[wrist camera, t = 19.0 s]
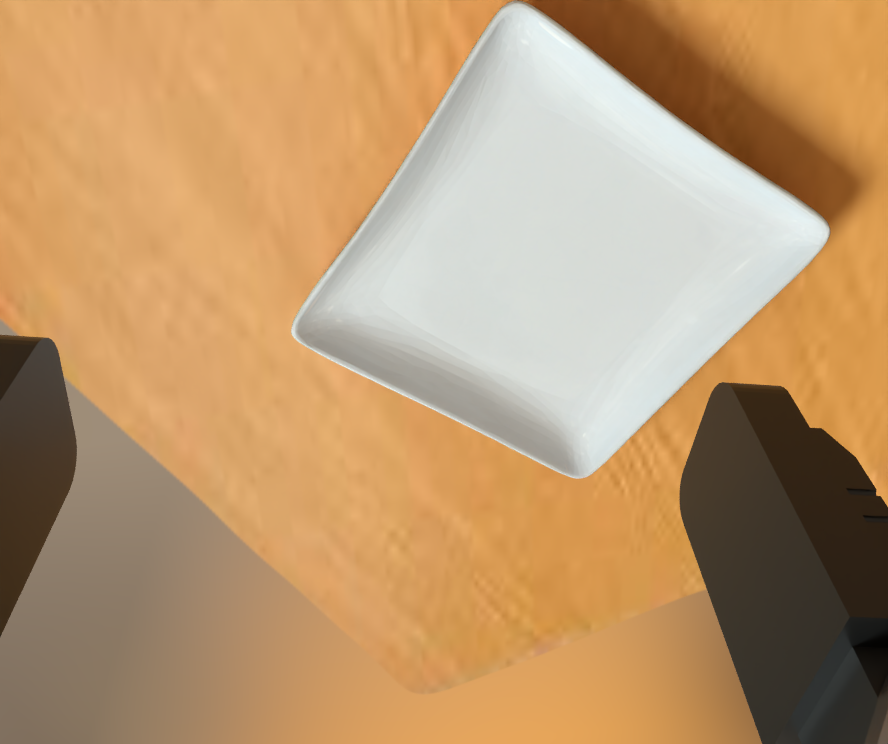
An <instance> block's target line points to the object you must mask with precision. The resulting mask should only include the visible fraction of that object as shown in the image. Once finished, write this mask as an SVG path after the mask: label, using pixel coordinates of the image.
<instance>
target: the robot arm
mask: <svg viewBox="0 0 888 744" xmlns="http://www.w3.org/2000/svg"><path fill="white" fill-rule="evenodd" d="M76 456H77V445H76V437H75V431H74V426H73V422H72V416H71V412H70V406H69V402H68V397H67V392H66V387H65V382H64V377H63V372H62V367H61V362H60V357H59V353H58V350H57V347H56V345H55V343H54V342H53V341H52V340H51V339H49V338H41V337H25V336H9V335H0V636H1V634H2V632H3V630H4V628H5V626H6V623H7V621H8V619H9V617H10V615H11V613H12V611H13V608H14V606H15V604H16V602H17V600H18V598H19V596H20V594H21V592H22V590H23V588H24V585H25V583H26V581H27V579H28V577H29V575H30V573H31V571H32V568H33V566H34V564H35V562H36V560H37V558H38V556H39V553H40V551H41V549H42V547H43V545H44V543H45V541H46V538H47V536H48V534H49V532H50V530H51V528H52V526H53V524H54V522H55V520H56V517H57V515H58V513H59V511H60V509H61V507H62V505H63V503H64V501H65V498H66V496H67V494H68V492H69V490H70V487H71V484H72V481H73V477H74V472H75V467H76ZM680 510H681V516H682V520H683V523H684V526H685V529H686V532H687V535H688V537H689V540H690V543H691V546H692V549H693V551H694V554H695V557H696V560H697V563H698V565H699V568H700V571H701V574H702V577H703V579H704V582H705V585H706V588H707V591H708V593H709V596H710V599H711V602H712V604H713V607H714V610H715V613H716V615H717V618H718V621H719V624H720V627H721V630H722V632H723V635H724V638H725V641H726V643H727V646H728V649H729V652H730V654H731V657H732V660H733V663H734V666H735V668H736V671H737V674H738V677H739V680H740V682H741V685H742V688H743V691H744V694H745V696H746V699H747V702H748V705H749V708H750V711H751V713H752V716H753V719H754V722H755V725H756V727H757V730H758V733H759V736H760V738H761V741H762V744H888V507H887V505H886V504H885V502H884V501H883V499H882V498H881V496H876V488H875V487H874V485H873V484H872V482H871V480H870V479H869V477H868V476H867V474H866V473H865V471H864V469H863V468H862V466H861V465H860V463H859V462H858V460H857V459H856V457H855V456H854V455H852V454H851V453H850V452H849V451H848V450H846V449H845V448H844V447H843V446H842V445H841V444H839V443H838V442H837V441H836V440H835V439H834V438H832V437H831V436H830V435H829V434H828V433H827V432H825V431H824V430H823V429H822V428H810V427H809V425H808V424H807V422H806V420H805V419H804V417H803V415H802V414H801V412H800V410H799V409H798V407H797V405H796V404H795V402H794V400H793V399H792V397H791V395H790V394H789V392H788V391H787V390H786V389H785V388H784V387H781V386H771V385H756V384H740V383H724V382H722V383H719V384H718V385H717V386H716V387H715V388H714V390H713V391H712V393H711V395H710V398H709V401H708V403H707V406H706V409H705V412H704V415H703V417H702V420H701V423H700V426H699V429H698V431H697V434H696V437H695V440H694V443H693V445H692V448H691V451H690V454H689V457H688V459H687V462H686V465H685V468H684V471H683V474H682V478H681V484H680Z"/></svg>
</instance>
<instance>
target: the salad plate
mask: <svg viewBox="0 0 888 744" xmlns="http://www.w3.org/2000/svg"><path fill="white" fill-rule="evenodd" d="M829 236H830V227H829V224H828V223H827V221H826V220H825V219H824V218H823V217H822V216H821V215H820V214H819V213H818V212H816V211H815V210H814V209H812V208H811V207H810V206H808V205H807V204H805V203H804V202H803V201H801V200H800V199H798V198H797V197H796V196H794V195H793V194H791V193H789V192H788V191H786V190H785V189H783V188H782V187H780V186H778V185H777V184H775V183H774V182H772V181H771V180H769V179H767V178H766V177H764V176H763V175H761V174H760V173H758V172H757V171H755V170H754V169H752V168H750V167H749V166H747V165H746V164H744V163H743V162H741V161H740V160H738V159H737V158H735V157H733V156H732V155H731V154H729V153H728V152H726V151H725V150H723V149H722V148H720V147H719V146H717V145H716V144H715V143H713V142H712V141H710V140H709V139H707V138H706V137H705V136H703V135H702V134H700V133H699V132H698V131H696V130H695V129H693V128H692V127H691V126H689V125H688V124H686V123H685V122H684V121H682V120H681V119H679V118H678V117H677V116H675V115H674V114H673V113H671V112H670V111H669V110H667V109H666V108H665V107H663V106H662V105H661V104H660V103H658V102H657V101H656V100H655V99H653V98H652V97H651V96H649V95H648V94H647V93H646V92H644V91H643V90H642V89H640V88H639V87H638V86H637V85H635V84H634V83H633V82H631V81H630V80H629V79H628V78H626V77H625V76H624V75H623V74H621V73H620V72H619V71H618V70H616V69H615V68H614V67H613V66H611V65H610V64H609V63H608V62H606V61H605V60H604V59H603V58H601V57H600V56H599V55H598V54H596V53H595V52H594V51H593V50H592V49H590V48H589V47H588V46H587V45H585V44H584V43H583V42H581V41H580V40H579V39H577V38H576V37H575V36H574V35H573V34H571V33H570V32H569V31H568V30H566V29H565V28H564V27H562V26H561V25H560V24H558V23H557V22H556V21H554V20H553V19H552V18H550V17H549V16H547V15H546V14H545V13H543V12H541V11H540V10H538V9H537V8H535V7H534V6H532V5H530V4H528V3H526V2H523V1H517V0H515V1H512V2H509V3H507V4H506V5H504V6H503V7H502V8H501V9H500V10H499V11H498V12H497V14H496V15H495V16H494V17H493V19H492V20H491V22H490V23H489V25H488V26H487V28H486V29H485V31H484V32H483V34H482V35H481V37H480V38H479V40H478V41H477V43H476V44H475V46H474V47H473V49H472V51H471V52H470V54H469V56H468V57H467V59H466V61H465V62H464V64H463V66H462V67H461V69H460V70H459V72H458V74H457V76H456V77H455V79H454V81H453V82H452V84H451V86H450V87H449V89H448V90H447V92H446V94H445V95H444V97H443V99H442V100H441V102H440V104H439V106H438V107H437V109H436V111H435V112H434V114H433V116H432V117H431V119H430V120H429V122H428V124H427V125H426V127H425V129H424V130H423V132H422V133H421V135H420V137H419V138H418V140H417V142H416V143H415V145H414V146H413V148H412V149H411V151H410V152H409V154H408V155H407V157H406V159H405V160H404V162H403V163H402V165H401V167H400V168H399V170H398V171H397V173H396V174H395V176H394V177H393V179H392V180H391V182H390V183H389V185H388V186H387V188H386V189H385V191H384V192H383V194H382V195H381V197H380V198H379V200H378V201H377V202H376V204H375V205H374V207H373V208H372V210H371V211H370V213H369V214H368V216H367V217H366V219H365V220H364V221H363V223H362V224H361V226H360V227H359V229H358V230H357V231H356V233H355V234H354V235H353V237H352V238H351V239H350V241H349V242H348V243H347V245H346V246H345V247H344V249H343V250H342V251H341V253H340V254H339V255H338V257H337V258H336V259H335V261H334V262H333V263H332V264H331V266H330V267H329V268H328V270H327V271H326V272H325V274H324V275H323V276H322V278H321V279H320V280H319V282H318V283H317V284H316V286H315V287H314V289H313V290H312V291H311V293H310V294H309V296H308V297H307V299H306V300H305V302H304V304H303V305H302V307H301V308H300V310H299V312H298V313H297V315H296V317H295V319H294V321H293V324H292V330H291V334H292V335H293V337H294V338H295V339H296V340H297V341H298V342H300V343H301V344H302V345H304V346H306V347H308V348H309V349H311V350H313V351H315V352H316V353H318V354H320V355H322V356H324V357H326V358H327V359H329V360H331V361H333V362H335V363H337V364H339V365H341V366H343V367H345V368H347V369H349V370H352V371H354V372H356V373H358V374H360V375H362V376H364V377H366V378H368V379H370V380H372V381H374V382H376V383H378V384H381V385H383V386H385V387H387V388H389V389H391V390H393V391H395V392H397V393H399V394H401V395H404V396H406V397H408V398H410V399H412V400H414V401H416V402H418V403H421V404H423V405H425V406H427V407H429V408H431V409H433V410H435V411H437V412H439V413H441V414H443V415H445V416H447V417H450V418H452V419H454V420H456V421H458V422H460V423H462V424H464V425H466V426H468V427H470V428H472V429H474V430H476V431H478V432H480V433H482V434H484V435H486V436H488V437H490V438H492V439H494V440H496V441H498V442H500V443H502V444H503V445H505V446H507V447H509V448H511V449H513V450H515V451H517V452H519V453H521V454H523V455H525V456H527V457H529V458H531V459H533V460H535V461H537V462H539V463H541V464H543V465H545V466H547V467H549V468H551V469H553V470H555V471H557V472H559V473H561V474H564V475H566V476H569V477H572V478H584V477H587V476H589V475H591V474H592V473H594V472H595V471H596V470H597V469H598V468H599V467H601V466H602V465H603V464H604V463H605V462H606V461H607V460H608V459H609V458H610V457H611V456H612V455H613V454H614V453H615V452H616V451H617V450H618V449H619V448H620V447H622V446H623V445H624V443H625V442H626V441H627V440H628V439H629V438H630V437H631V436H632V435H633V434H634V433H635V432H636V431H638V430H639V428H640V427H641V426H642V425H643V424H644V423H645V422H646V421H647V420H648V419H649V418H650V417H651V416H652V415H653V414H654V413H655V412H656V411H657V410H658V409H660V408H661V407H662V406H663V405H664V404H665V403H666V402H667V401H668V400H669V399H670V398H671V397H672V396H673V395H674V394H675V393H676V392H677V391H678V390H679V389H680V388H681V387H682V385H684V384H685V383H686V382H687V381H688V380H689V379H690V378H691V377H692V376H693V375H694V374H695V373H696V372H697V371H698V370H699V369H700V368H701V367H702V366H703V365H704V364H705V363H706V362H707V361H708V360H709V359H710V358H711V357H712V356H713V355H714V354H715V353H716V352H717V351H718V350H719V349H720V348H721V347H722V346H723V345H724V344H725V343H726V342H728V341H729V340H730V339H731V338H732V337H733V336H734V335H735V334H736V333H737V332H738V331H739V330H740V329H741V328H742V327H743V326H744V325H745V324H746V323H747V322H748V321H749V320H750V319H751V318H752V317H753V316H754V315H755V314H757V313H758V312H759V311H760V310H761V309H762V308H763V307H764V306H765V305H766V304H767V303H768V302H769V301H770V300H772V299H773V298H774V297H775V296H776V295H777V294H778V293H779V292H780V291H781V290H782V289H783V288H784V287H785V286H786V285H787V284H789V283H790V282H791V281H792V280H793V279H794V278H795V277H796V276H797V275H798V274H799V273H800V272H801V271H802V270H803V269H804V268H805V267H806V266H807V265H808V264H809V263H810V262H811V261H812V260H813V259H814V257H815V256H816V255H817V254H818V253H819V252H820V250H821V249H822V248H823V246H824V245H825V243H826V242H827V240H828V238H829Z"/></svg>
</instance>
